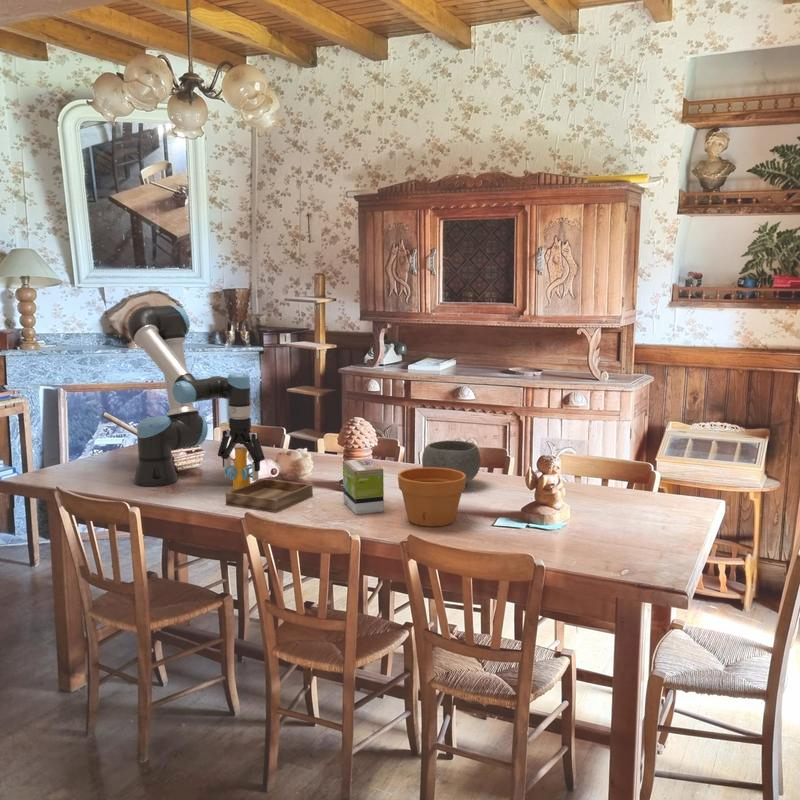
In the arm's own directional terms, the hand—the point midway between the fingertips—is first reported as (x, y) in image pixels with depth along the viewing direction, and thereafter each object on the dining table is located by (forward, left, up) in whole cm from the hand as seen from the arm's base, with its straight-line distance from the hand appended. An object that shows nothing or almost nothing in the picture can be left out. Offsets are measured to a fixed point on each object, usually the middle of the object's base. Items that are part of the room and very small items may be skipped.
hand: (241, 478), depth 296 cm
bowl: (+64, +39, -4) cm, 75 cm away
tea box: (+49, 0, -4) cm, 49 cm away
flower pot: (+75, -3, -4) cm, 75 cm away
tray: (+17, -7, -4) cm, 19 cm away
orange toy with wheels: (0, 0, -4) cm, 4 cm away
